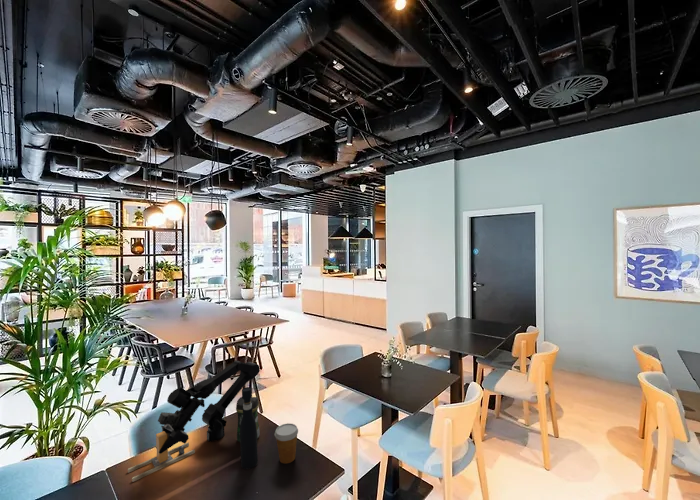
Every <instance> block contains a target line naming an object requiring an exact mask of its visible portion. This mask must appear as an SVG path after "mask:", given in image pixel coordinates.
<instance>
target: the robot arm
mask: <svg viewBox="0 0 700 500" xmlns="http://www.w3.org/2000/svg"><path fill="white" fill-rule="evenodd" d="M260 369H261V368H260V365H259V364H257V363H254V362H252V361H246V362H243V361H239V360H235V361H233V362H232V363H231V364H230V365H228V366H226V367H225V368H224V369H222V370H221V371H219V372H218V373H216V374H215V375H214V376H211V377H209V378H206V379H203V380H201V381H198V382H196V384H194V386H192V387H189V388H188V389H184V388H183V387H182V386H178V387H177V388H176V389H174V390H173V391H172V392H170V393H169V395H168V397H167V399H166V401H167V403H168V404H170V405H172V406H174V407H176V408H177V410H175V412H160V415H159V417H158V419H157V422H158V424H160V425H161V426H160V427H161V432H163V431H165V433H166V434H167V439H166V441H165V442H164V444H163V446H162V447H161V449H160V451H159V453H160V454H161V453H163V452H164V451H166V450H167V449H168V450H169V449H170V448H172V447H173V446H174V445H176V444H178V443H182V444H186V443H188V441H189V434H187V432H185V430H186V428H185V427H186V425H187V424H188V423H189V422H190V423H191V421H192V420H193V418H192V417H193V416H194V414H195V413H196V411H197V410H198V409H199V407H200V406H201V408H205V406H206V405H205V400H206V399H208V398H210V396H211V395H212V394H213V393H214V392H215V390H216V389H217V388H218V386H219V385H221V384H223V383H224V382H225V381H226V380H228V379H230V378H231V377H233V376H234V375H235V374H236V373H238V372H239V376H238V377H237V378H236V379H235V381H234V382H233V383H232V384H231V385H230V387H229V388H228V389H227V391H225V393H224V394H223V395H222V396H221V398H220V399H219V400H218V401H217V402H216V403H214V404H213V403H212V402H211V403H209V404H208V406H207V407H206V408H205V409H204V410H203V413H202V415H201V420H202V422H203V424H205V425H207V431H206V440H207V441H208V442H215V441H218V440H220V439H222V438H223V437H224V436H225V427H226V425H227V423H228V422H227V420H225V419H224V415H225V412H226V409H227V408H228V407H229V405H230V404H231V403H232V402H233V401H234V400H235V398H236V397H237V396H238V394H239V393H240V392H241V391H242V389H243V388H245V386H246V384H247V383H248V382H250V381H252V380H253V379H255V378H256V376H258V375H259V373H260V371H261V370H260ZM178 409H179V410H178Z"/></svg>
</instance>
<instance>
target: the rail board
mask: <svg viewBox="0 0 700 500" xmlns="http://www.w3.org/2000/svg"><path fill="white" fill-rule="evenodd" d="M182 445H183V446H184V449H185V448H187V447H189V446H190V443H189V441H187V442H186V443H185V444H184V443H182V444H180V445H179V446H177V447H175V448H172V449H170V450H168V452H169V454H170V455H171V454H173V453H175V452H179V450H177V448H179V447H180V446H182ZM195 453H196V450H195V448H194V449H192V450H189V451H187V452H184V454H182V455H179V456H176V457H174V458H173V459H172V460H170V461H168V462H166V463H163V464H161V465H159V466H157V467H153V468H151V469H149V470H146V471H144V472H142V473H139V474H138V475H135V476H133V477H132V478H131V481H132V482H136V481H138V480H140V479H142V478H144V477H146V476H149V475H151V474H153V473H154V472H157V471H159V470H161V469H164V468H166V467H167V466H169V465H173V464H174V463H176V462H178V461H180V460H183V459H185V458H187V457H189V456H191V455H194V454H195ZM154 458H157V455H156V456H154V457H151V458H149V459H148V460H145V461H143V462H140V463H138V464H136V465H134V466H131V467H128V468H127V473H131V472H133V471H136V470H138V469H140V468H143V467H145V466H147V465H149V464H152V459H154Z"/></svg>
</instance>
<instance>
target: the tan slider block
mask: <svg viewBox="0 0 700 500" xmlns="http://www.w3.org/2000/svg"><path fill="white" fill-rule="evenodd" d="M166 439H167V434H166V433H165V431H163V432H162V431H160V432H158V433H155V445H156V446H155V449H156V450H155V451H156V456H157V458H154V457H153V458H154V459H152V462H151V464H152V465H153V468H155V467H157V466H159V465H161V464H163V463H166V462H168V461H170V460H172V459H174V458H173V456H172V455H171V454H169V452H168V451H169V449H167V450H166V451H164V452H163V453H161V454H160V453H159V451H160V449H161V447H162V446H163V444H164V442H165V441H166Z"/></svg>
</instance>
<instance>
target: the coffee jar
mask: <svg viewBox="0 0 700 500" xmlns="http://www.w3.org/2000/svg"><path fill="white" fill-rule="evenodd" d="M250 399H251V404H252V410H253V416H254V418H255V421H256V426H257V440H258V438H259V437H260V424H259V417H258V415H259V414H258V413H259V411H258V410H259V407H260V405H259V404H260V403H259V398H258V396H252V397H251V398H250ZM243 404H244V399H242V396H240V397H239V398H238V400H237V402H236V404H235V405H236V407H235V411H236V414H237V430H236V431H237V432H236V441H237V442H238V443H240V425H241V421H242V417H243Z"/></svg>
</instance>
